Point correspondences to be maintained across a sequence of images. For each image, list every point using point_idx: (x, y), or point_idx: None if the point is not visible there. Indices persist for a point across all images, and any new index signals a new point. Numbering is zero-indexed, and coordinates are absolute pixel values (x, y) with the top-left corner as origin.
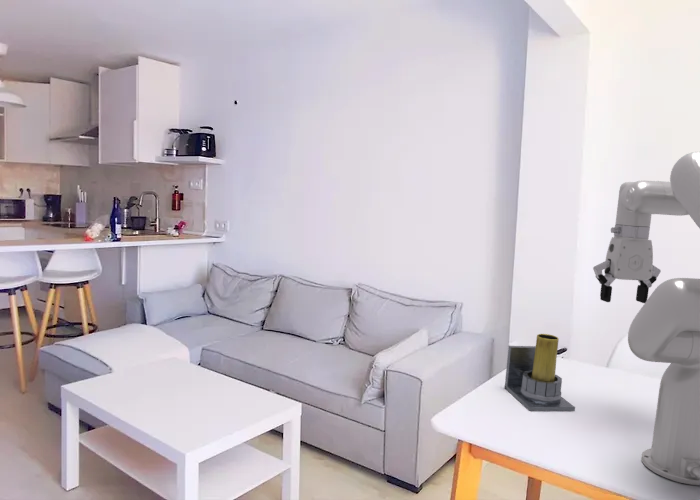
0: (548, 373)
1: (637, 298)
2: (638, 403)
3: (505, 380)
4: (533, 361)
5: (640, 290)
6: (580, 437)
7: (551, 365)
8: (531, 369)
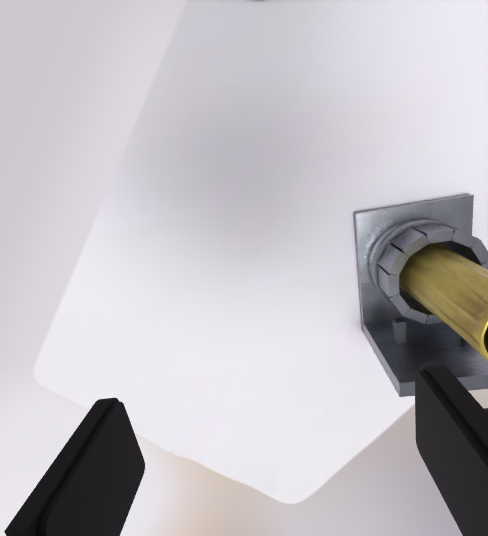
0: (450, 257)
1: (135, 470)
2: (184, 278)
3: None
4: (437, 352)
5: (92, 531)
6: (414, 59)
7: (457, 265)
8: (430, 339)
